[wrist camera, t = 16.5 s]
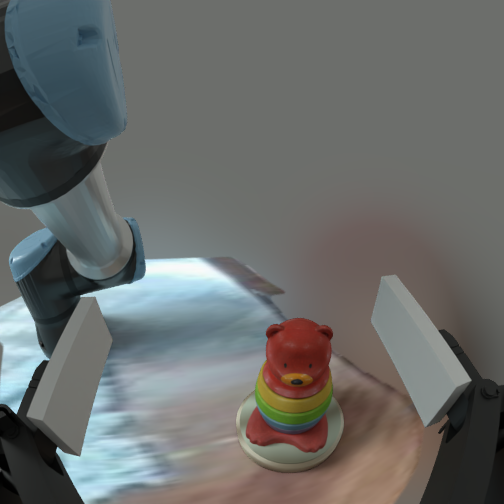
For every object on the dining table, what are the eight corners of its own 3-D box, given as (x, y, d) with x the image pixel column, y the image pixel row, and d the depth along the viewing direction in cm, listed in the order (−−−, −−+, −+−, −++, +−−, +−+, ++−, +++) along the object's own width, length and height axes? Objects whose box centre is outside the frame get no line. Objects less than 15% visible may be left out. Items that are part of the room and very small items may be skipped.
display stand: (227, 400, 42) (225, 390, 41) (317, 378, 45) (319, 367, 44) (252, 485, 30) (252, 479, 28) (356, 451, 33) (362, 443, 31)
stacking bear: (242, 443, 33) (230, 361, 24) (259, 386, 41) (256, 292, 33) (324, 455, 31) (357, 377, 22) (331, 395, 39) (355, 302, 30)
